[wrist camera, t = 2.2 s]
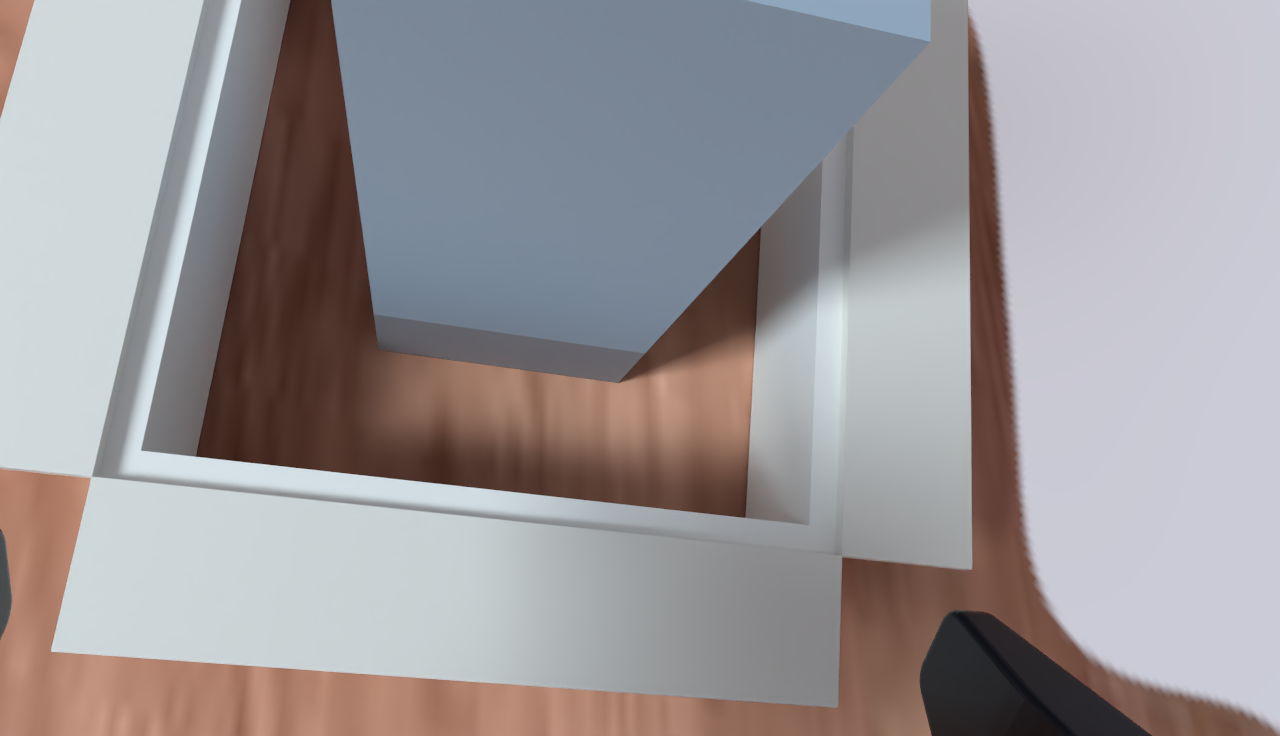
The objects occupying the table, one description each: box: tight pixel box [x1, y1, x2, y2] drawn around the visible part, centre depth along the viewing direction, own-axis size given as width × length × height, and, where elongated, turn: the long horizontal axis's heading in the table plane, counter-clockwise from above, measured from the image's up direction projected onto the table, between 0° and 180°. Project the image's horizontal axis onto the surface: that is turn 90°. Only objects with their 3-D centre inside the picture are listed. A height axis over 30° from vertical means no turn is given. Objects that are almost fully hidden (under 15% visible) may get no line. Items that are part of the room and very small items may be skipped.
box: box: [331, 0, 931, 383], centre depth 14 cm, size 5×5×13 cm
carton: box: [0, 0, 972, 708], centre depth 18 cm, size 14×17×4 cm
